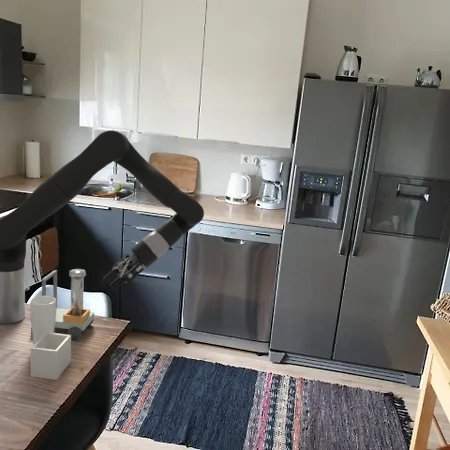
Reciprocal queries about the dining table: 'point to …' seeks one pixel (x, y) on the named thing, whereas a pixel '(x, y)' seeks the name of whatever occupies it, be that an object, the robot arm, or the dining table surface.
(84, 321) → the trolley
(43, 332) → the drinking glass
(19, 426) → the dining table surface
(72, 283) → the steel pin
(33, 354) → the bin
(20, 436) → the dining table surface
